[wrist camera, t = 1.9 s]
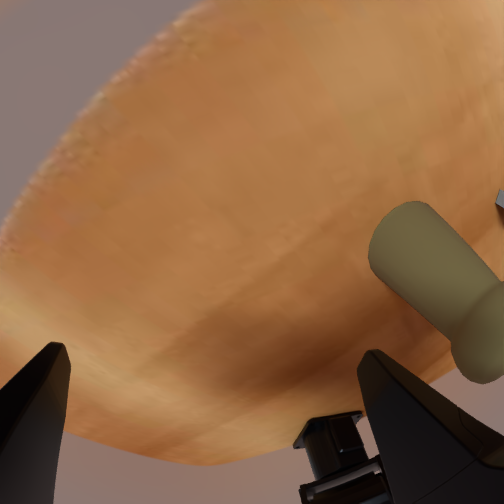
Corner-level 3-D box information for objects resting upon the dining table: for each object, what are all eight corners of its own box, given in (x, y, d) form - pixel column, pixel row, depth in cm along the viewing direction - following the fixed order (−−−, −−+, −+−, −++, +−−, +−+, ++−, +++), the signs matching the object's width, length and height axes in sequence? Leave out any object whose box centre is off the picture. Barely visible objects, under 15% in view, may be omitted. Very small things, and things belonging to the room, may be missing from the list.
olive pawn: (441, 191, 18) (569, 283, 8) (436, 265, 21) (529, 364, 11) (365, 215, 17) (494, 344, 8) (369, 292, 21) (455, 419, 11)
